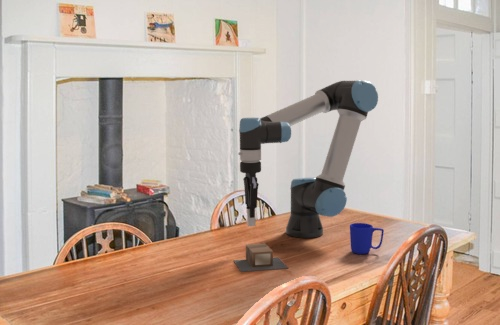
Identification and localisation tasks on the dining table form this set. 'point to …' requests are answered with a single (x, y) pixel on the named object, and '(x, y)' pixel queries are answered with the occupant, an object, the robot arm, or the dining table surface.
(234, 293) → the dining table surface
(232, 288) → the dining table surface
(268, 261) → the walnut block
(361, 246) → the mug
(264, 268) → the mat
